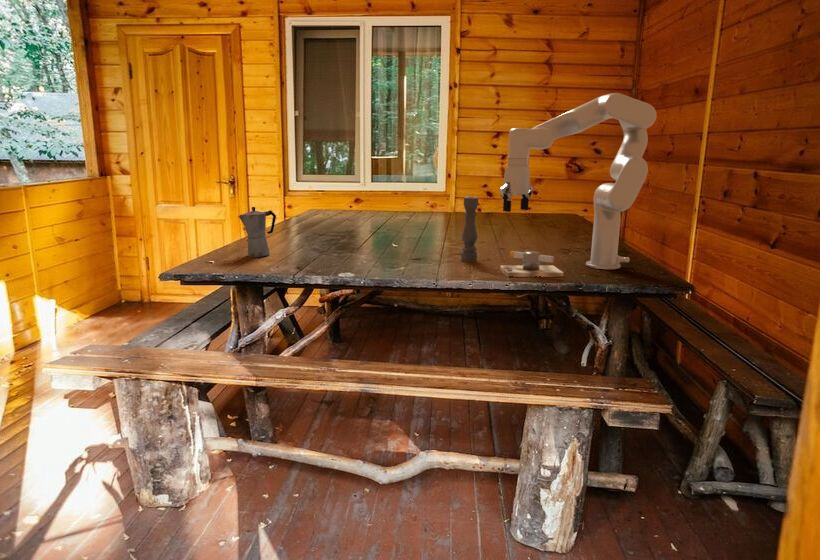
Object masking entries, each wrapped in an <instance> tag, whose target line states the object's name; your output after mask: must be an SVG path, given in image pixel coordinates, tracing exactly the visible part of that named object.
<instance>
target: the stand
mask: <svg viewBox="0 0 820 560" xmlns="http://www.w3.org/2000/svg"><path fill="white" fill-rule="evenodd" d="M499 271H501V272H502V273H503V274H504V275H505V276H506V277H507V278H510V277H509V276H513V277H512V278H515V277H516V278H520V277H522V278H532V277H533V278H541V277H544V278H545V277H547V278H549V277H551V278H552V277H553V278H554V277H555V278H556V277H557V278H559V277H561V278H562V277H564V271H562V270H561V269H559V268H557V267H556V266H555V265H545V264H544V265H543V264H542V265H541V264H540V269H539V270H526V269H523V265H500V266H499ZM535 276H537V277H535ZM539 276H541V277H539Z"/></svg>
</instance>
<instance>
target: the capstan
mask: <svg viewBox="0 0 820 560" xmlns="http://www.w3.org/2000/svg"><path fill="white" fill-rule="evenodd" d="M509 258H515V259H520V260H521V259H522V266H523V269H526V270H539V269H540V265H541V262H543V263H545V262H546V263H550V264H552V263H554V262H555V261H554V259H555V256H553V255H546V254H541V252H539V251H533V250H525V251H523V252H522V251H517V250H516V251H515V250H511V251H509Z"/></svg>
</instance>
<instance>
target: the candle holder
mask: <svg viewBox="0 0 820 560" xmlns="http://www.w3.org/2000/svg"><path fill="white" fill-rule="evenodd" d="M478 207H479V197H478V196H477V197H476V196H464V197H463V208H464V210H465V211H464V212H463V215H464V217H465V221H464V223H465V224H464V227H463V231H462V235H461V239H462V241H463V247H461V250H462V251H461V253H460V254H461V255H460V257H461V258H460V261H461V262H465V263H473V262H474V263H475V262H477V260H478V258H477V257H478V252H477V247H476V246H475V245H476V242H477V240H478V233H477V227H476V216H477V215H478V213H477V212H476V211H477V209H478Z"/></svg>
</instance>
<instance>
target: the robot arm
mask: <svg viewBox="0 0 820 560" xmlns="http://www.w3.org/2000/svg"><path fill="white" fill-rule="evenodd" d="M657 118H658V117H657V111H656V109H655V107H654V106H653V105H652V104H650V103H647V102H646V101H642V100H640V99H636V98H634V97H631V96H628V95H625V94H622V93H619V92H613V93H607V94H603V95H600V96H598V97H596V98H594V99H592V100H590V101H588V102H585V103H583V104H581V105H580V106H577V107H575V108H573V109H571V110H569V111H566V112H565V113H561V115H558V116H556V117H553V118H551V119H548V120H547V121H544V122H543V123H541V124H537V125H536V126H534V127H532V128H527V127H512V128H510V130H509V132H508V150H507V167H506V168H505V171H504V177H503V183H502V186H501V187H500V188H499V192H500V196H501V198H502V201H503V204H502V211H503V212H507V213H510V212H512V211H511V210H512V198H513V196H521V199H520V210H521V211H522V210H523V211H528V210H529V203H530V202H529V200H530V199H531V196H532V194H533V193H532V192H533V190H534V187H533V185H531V184H530V183H531V182H530V180H531V178H530V177H531V175H530V166H529V165H530V152H531V151H530V149H533V150H546V149H548V148H549V147H551V146H552V145H553V143H554V142H555V140H557V139H560V138H565V137H567V136H572V135H575V134H580V133H581V132H584V131H586V130H588V129H590V128H592V127H594V126H596V125H598V124H600V123H603V122H604V121H607V120H609V119H615V120H617V121H619V125H620V127H621V129H622V131H623V139H622V142H621V144H620V147H619V149H618V150H617V153H616V155H615V157H614V159H613V161H612V163H611V166H610V167H609V176H610V177H611V178H612V179H613V180H615V183H613V182H604V183H601V185H599V186H598V187H597V188H596V189H595V191H594V193H593V194H594V195H593V212H594V214H593V226H592V236H591V238H592V239H591V250H590V260H587V261H586V262H585V266H586V267H588V268H592V269H597V270H600V269H601V270H617V269H620V268H621V264H622V263H629V262H630V257H629V256H620V255H619V254H618V251H619V238H620V229H621V221H622V219H621V212H624V211H626V210H628V209H630V208H631V207H632V205H633V203H634V202H635V200H636V198H637V196H638V195H639V194H640V191H641V189H642V187H643V185H644V183H645V182H646V179H647V176H648V173H649V172H648V171H649V166H648V162H647V161H646V159H644V158H643V156H644V154H645V151H646V149H647V146H648V142H649V141H648V140H649V139H648V138H649V137H648V132H647V129H648V128H650V127H652V126H653V124H655V122H656V119H657Z"/></svg>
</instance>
